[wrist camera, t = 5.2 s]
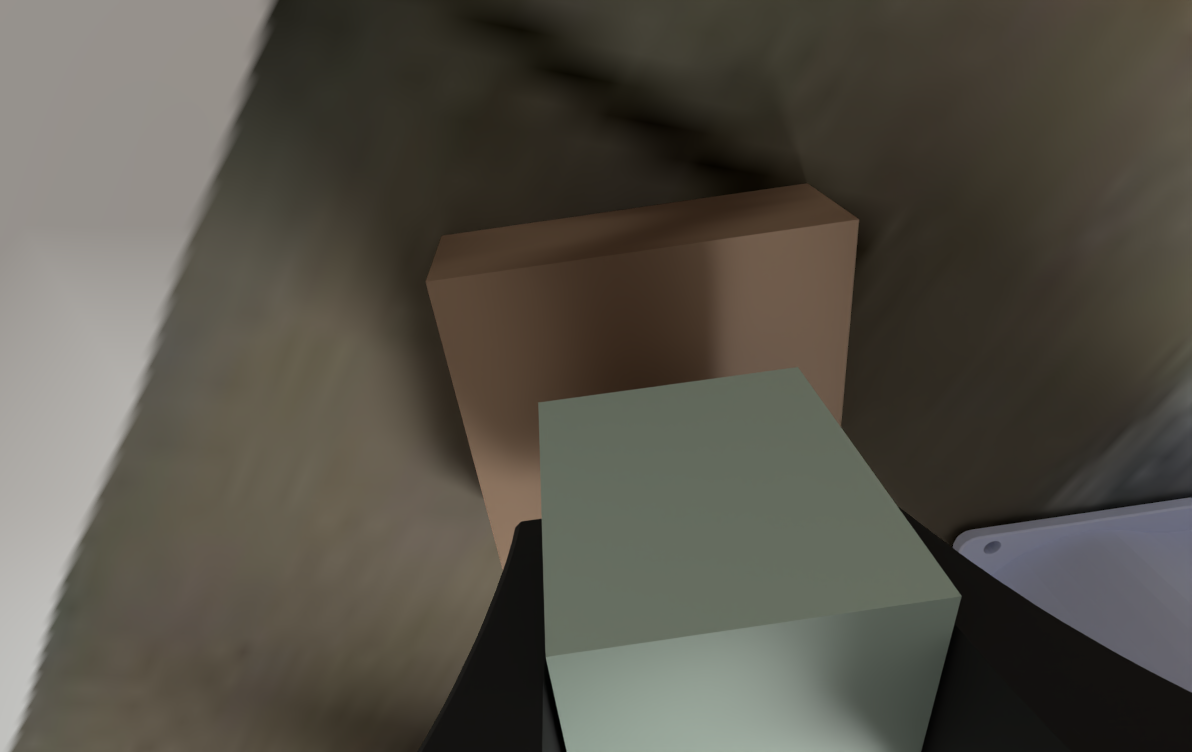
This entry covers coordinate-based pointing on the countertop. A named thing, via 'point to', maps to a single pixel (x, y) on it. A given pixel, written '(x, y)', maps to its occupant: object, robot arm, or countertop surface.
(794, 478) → the sage block
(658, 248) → the walnut block
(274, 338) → the countertop surface
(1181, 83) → the countertop surface
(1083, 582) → the robot arm
